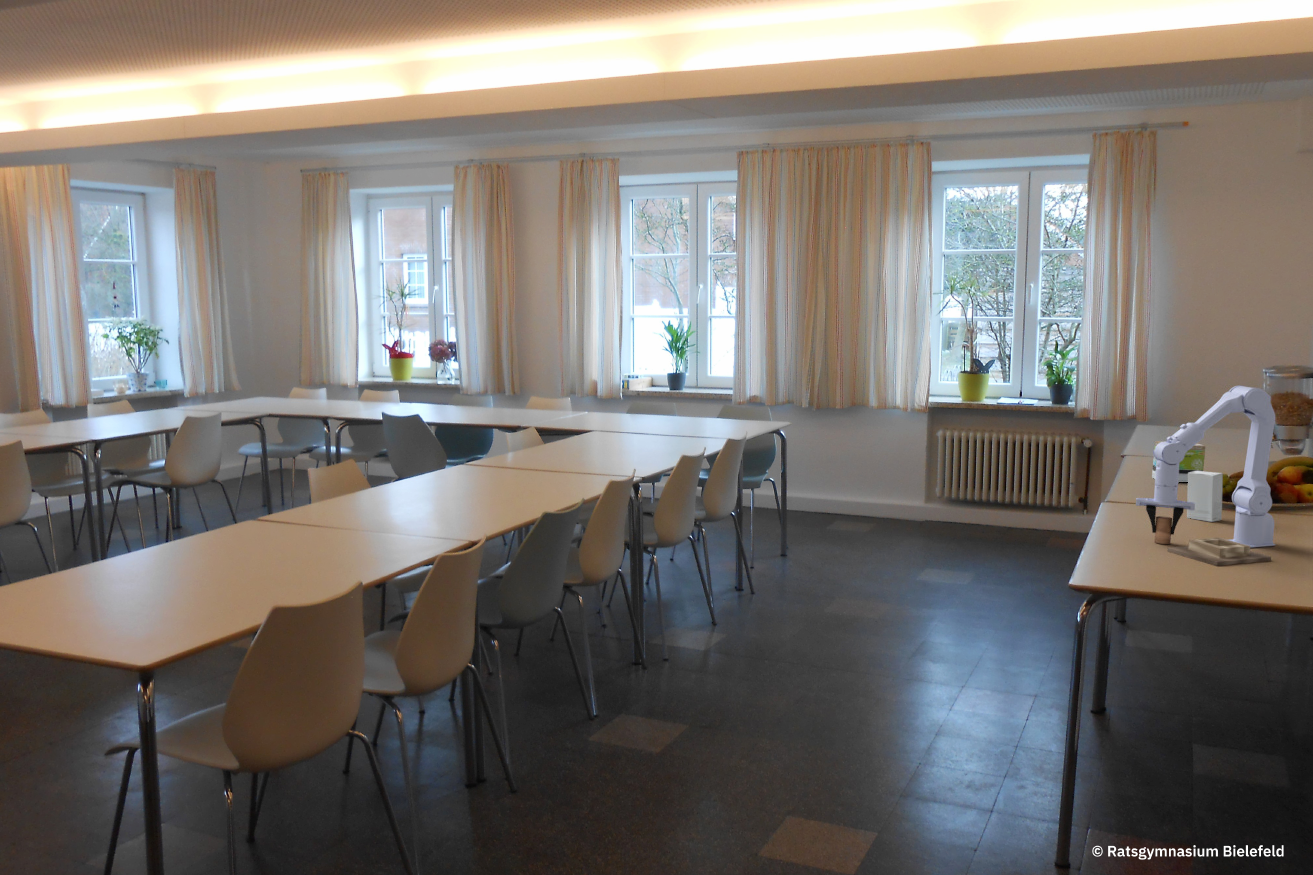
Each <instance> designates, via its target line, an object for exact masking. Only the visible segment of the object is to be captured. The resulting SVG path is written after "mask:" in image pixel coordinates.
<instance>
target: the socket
mask: <svg viewBox="0 0 1313 875" xmlns="http://www.w3.org/2000/svg"><path fill="white" fill-rule="evenodd" d="M1229 540H1230V539H1225V538H1221V537H1211V538H1198V539H1197V538H1196V539H1189V540H1188V545H1184V546H1182V545H1181V546H1171V547H1167V552H1168V551H1169V552H1168V553H1171V552H1172V554H1175V555H1177V556H1182V557H1186V558H1189V559H1192V560H1196V561H1199V562H1202V563H1206V564H1209V565H1212V566H1215V567H1217V566H1218V567H1219V566H1228V565H1230V566H1231V565H1239V564H1240V565H1242V564H1249V563H1262V562H1270V561H1272V556H1269V555H1266V554H1262V553H1258V552H1254V551H1251V548H1250V546H1248V545H1245V544H1241V543H1237V542H1233V541H1229Z"/></svg>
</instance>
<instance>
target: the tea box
mask: <svg viewBox="0 0 1313 875" xmlns="http://www.w3.org/2000/svg"><path fill="white" fill-rule="evenodd" d="M1164 441H1165V440H1164ZM1164 441H1161V440H1155V441H1154V450H1155V447H1156V446H1157V445H1158V444H1159V443H1160V442H1164ZM1154 450H1153V451H1154ZM1205 455H1206V446H1205V445H1204V444H1200V443H1199V442H1198V443H1197V444H1196V445H1194V446H1193V447H1192V448H1191V449H1190V450H1188V451H1187V452H1186V453H1185V456H1184V459H1183V460H1182V461H1181V462H1179V477H1178V483H1179V482H1188V473H1189V472H1193V471H1204V467H1205V466H1204V465H1205ZM1152 460H1153V461H1152V462H1153V463H1152V474H1151V478H1152V479H1153V478H1154V480H1155V474H1156V459H1155V457H1154V456H1153V459H1152Z"/></svg>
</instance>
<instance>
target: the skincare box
mask: <svg viewBox="0 0 1313 875" xmlns="http://www.w3.org/2000/svg"><path fill="white" fill-rule="evenodd" d="M1223 474H1224V473H1223V472H1215V471H1204V470H1203V471H1193V472H1189V473H1188V483H1187V497H1186V498H1187V501H1186V502H1195V509H1194V510H1189V509H1186V519H1190V518H1191V519H1192V520H1196V521H1197V520H1198V521H1204V522H1208V523H1209V522H1212V523H1214V522H1219V521H1222V518H1223V517H1222V514H1223ZM1191 519H1190V520H1191Z"/></svg>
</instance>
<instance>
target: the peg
mask: <svg viewBox="0 0 1313 875" xmlns="http://www.w3.org/2000/svg"><path fill="white" fill-rule="evenodd" d="M1172 522H1173V517H1171V516H1164V515H1163V516H1162V515H1161V516H1156V517H1155V525H1156V526H1155V533H1154V543H1156V544H1162V545H1170V544H1171V539H1172V535H1171V529H1172Z"/></svg>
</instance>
